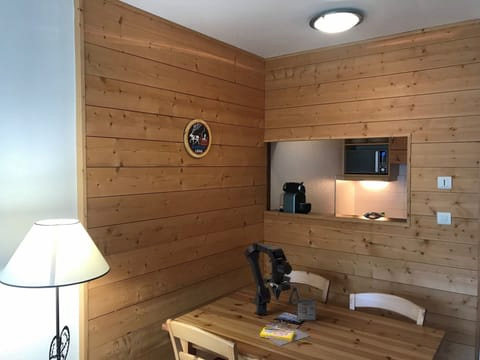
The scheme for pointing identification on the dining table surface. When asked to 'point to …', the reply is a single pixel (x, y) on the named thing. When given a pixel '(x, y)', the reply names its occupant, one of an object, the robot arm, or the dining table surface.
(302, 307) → the small box
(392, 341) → the dining table surface
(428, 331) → the dining table surface
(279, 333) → the candy box
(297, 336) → the placemat
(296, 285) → the phone stand
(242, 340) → the dining table surface
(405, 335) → the dining table surface
